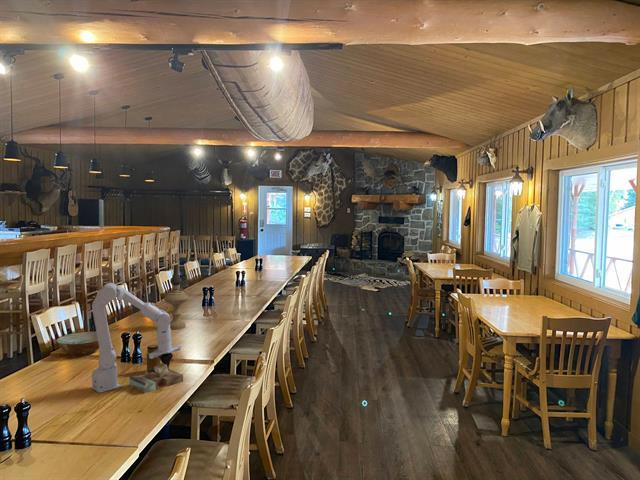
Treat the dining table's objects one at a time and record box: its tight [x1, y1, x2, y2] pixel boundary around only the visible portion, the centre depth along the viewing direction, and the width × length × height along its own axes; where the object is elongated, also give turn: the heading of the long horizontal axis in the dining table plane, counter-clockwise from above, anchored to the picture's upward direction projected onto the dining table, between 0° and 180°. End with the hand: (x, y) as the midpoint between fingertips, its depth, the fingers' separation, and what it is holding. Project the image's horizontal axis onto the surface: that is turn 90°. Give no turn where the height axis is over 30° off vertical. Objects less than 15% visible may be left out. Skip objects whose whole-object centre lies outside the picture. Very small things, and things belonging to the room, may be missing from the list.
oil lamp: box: [163, 264, 189, 331], centre depth 306 cm, size 15×15×40 cm
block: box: [154, 362, 169, 377], centre depth 210 cm, size 4×4×4 cm
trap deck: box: [128, 368, 184, 394], centre depth 208 cm, size 18×13×4 cm
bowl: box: [55, 330, 99, 356], centre depth 254 cm, size 25×25×8 cm
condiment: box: [143, 344, 161, 375], centre depth 224 cm, size 7×8×12 cm
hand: (166, 370), depth 212 cm, fingers closed, pressing on block
